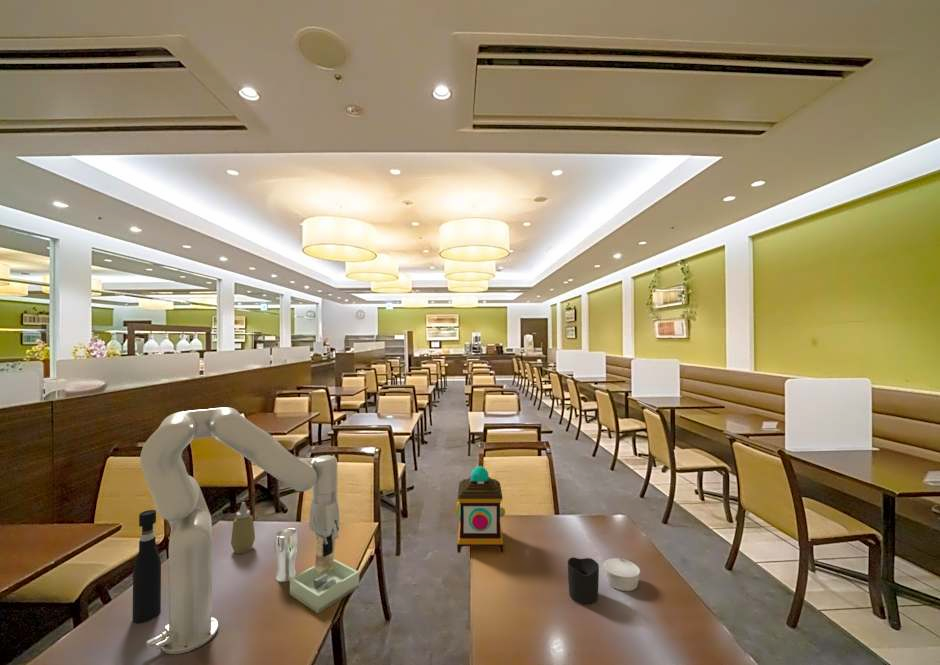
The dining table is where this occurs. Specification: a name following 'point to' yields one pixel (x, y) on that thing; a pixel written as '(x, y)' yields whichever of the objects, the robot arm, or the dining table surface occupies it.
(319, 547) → the upright wooden plank
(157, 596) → the wine bottle
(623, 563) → the ramekin
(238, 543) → the squeeze bottle
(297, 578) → the pale green prong tray
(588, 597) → the pen holder
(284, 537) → the metal tumbler
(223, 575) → the dining table surface
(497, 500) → the decorative lantern
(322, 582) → the wick clip
